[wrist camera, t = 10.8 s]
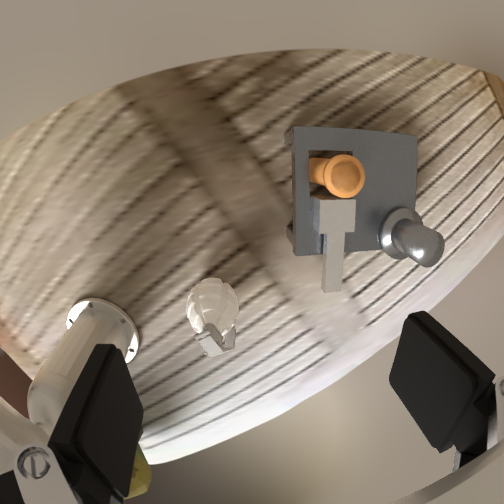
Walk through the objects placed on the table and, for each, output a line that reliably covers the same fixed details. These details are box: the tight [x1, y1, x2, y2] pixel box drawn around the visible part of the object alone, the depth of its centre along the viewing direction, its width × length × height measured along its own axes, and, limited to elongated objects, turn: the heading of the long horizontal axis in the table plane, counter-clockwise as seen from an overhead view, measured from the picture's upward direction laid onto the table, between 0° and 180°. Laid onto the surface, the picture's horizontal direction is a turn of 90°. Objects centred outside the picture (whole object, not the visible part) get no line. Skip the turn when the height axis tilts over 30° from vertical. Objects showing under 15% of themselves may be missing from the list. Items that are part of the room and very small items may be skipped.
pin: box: [309, 155, 365, 198], centre depth 31 cm, size 4×4×10 cm
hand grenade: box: [186, 278, 239, 357], centre depth 34 cm, size 8×6×13 cm
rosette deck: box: [284, 126, 445, 293], centre depth 31 cm, size 18×17×13 cm
